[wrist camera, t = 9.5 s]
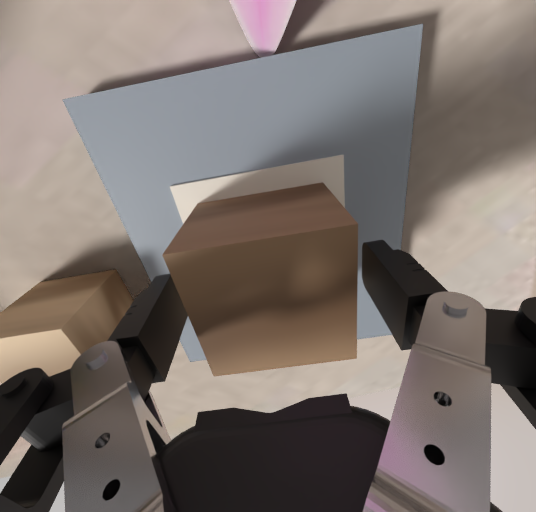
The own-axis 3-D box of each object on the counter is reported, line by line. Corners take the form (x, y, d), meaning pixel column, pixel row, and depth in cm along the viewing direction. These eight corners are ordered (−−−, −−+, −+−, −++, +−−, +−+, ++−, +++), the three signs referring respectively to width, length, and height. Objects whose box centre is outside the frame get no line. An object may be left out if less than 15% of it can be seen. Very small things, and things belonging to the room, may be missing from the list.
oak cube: (41, 281, 16) (-42, 344, 12) (116, 268, 16) (60, 329, 11) (83, 337, 18) (28, 406, 14) (149, 327, 18) (113, 395, 14)
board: (80, 100, 11) (59, 99, 10) (406, 32, 10) (425, 22, 9) (194, 348, 19) (189, 363, 18) (384, 321, 18) (393, 336, 17)
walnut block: (197, 203, 12) (162, 254, 8) (323, 182, 12) (358, 224, 8) (227, 300, 15) (213, 376, 11) (328, 285, 15) (356, 358, 10)
